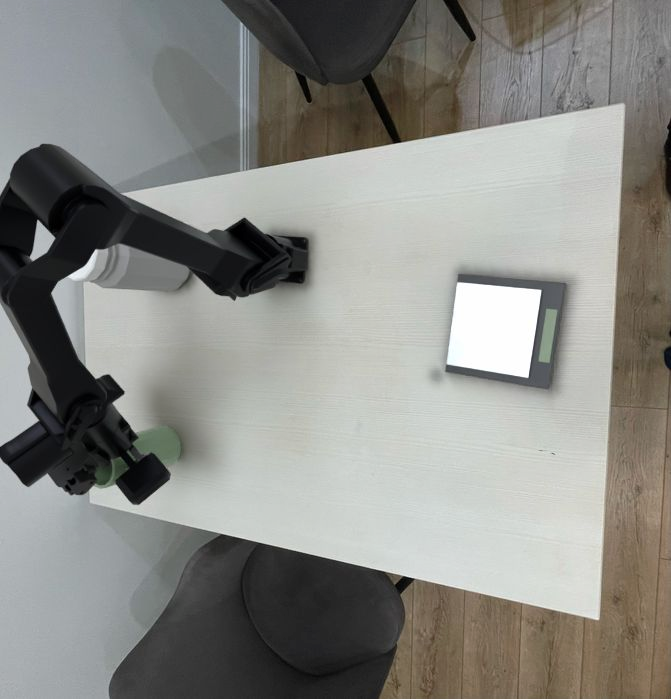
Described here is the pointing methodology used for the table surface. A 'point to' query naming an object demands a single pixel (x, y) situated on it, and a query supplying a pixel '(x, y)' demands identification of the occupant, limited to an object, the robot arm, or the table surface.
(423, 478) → the table surface
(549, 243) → the table surface
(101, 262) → the jar
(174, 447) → the tumbler
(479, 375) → the scale
